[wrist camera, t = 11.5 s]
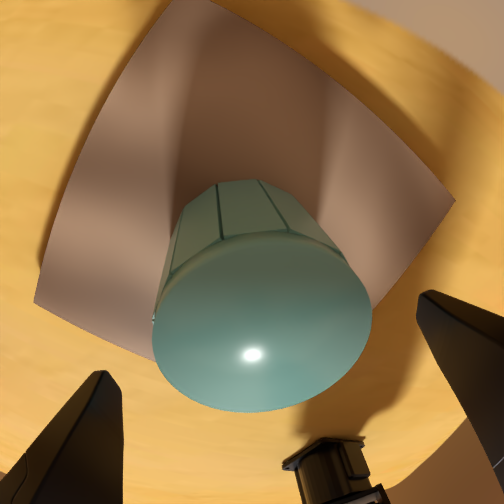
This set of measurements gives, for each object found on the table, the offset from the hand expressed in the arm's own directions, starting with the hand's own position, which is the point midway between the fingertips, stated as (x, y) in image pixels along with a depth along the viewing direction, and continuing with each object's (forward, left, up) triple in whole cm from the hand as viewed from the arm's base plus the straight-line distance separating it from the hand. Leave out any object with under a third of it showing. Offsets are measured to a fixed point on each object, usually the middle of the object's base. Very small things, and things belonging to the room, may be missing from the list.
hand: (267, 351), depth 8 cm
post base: (0, 0, -8) cm, 8 cm away
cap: (0, 0, -6) cm, 6 cm away
